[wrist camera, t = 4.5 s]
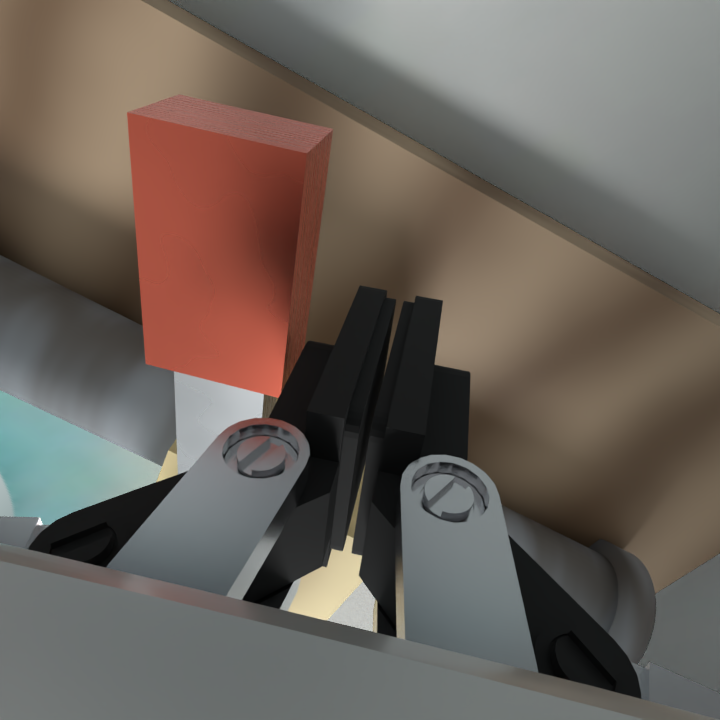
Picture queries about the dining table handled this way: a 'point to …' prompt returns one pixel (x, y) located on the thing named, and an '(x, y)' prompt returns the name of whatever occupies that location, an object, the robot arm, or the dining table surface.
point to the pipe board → (337, 291)
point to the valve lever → (224, 254)
